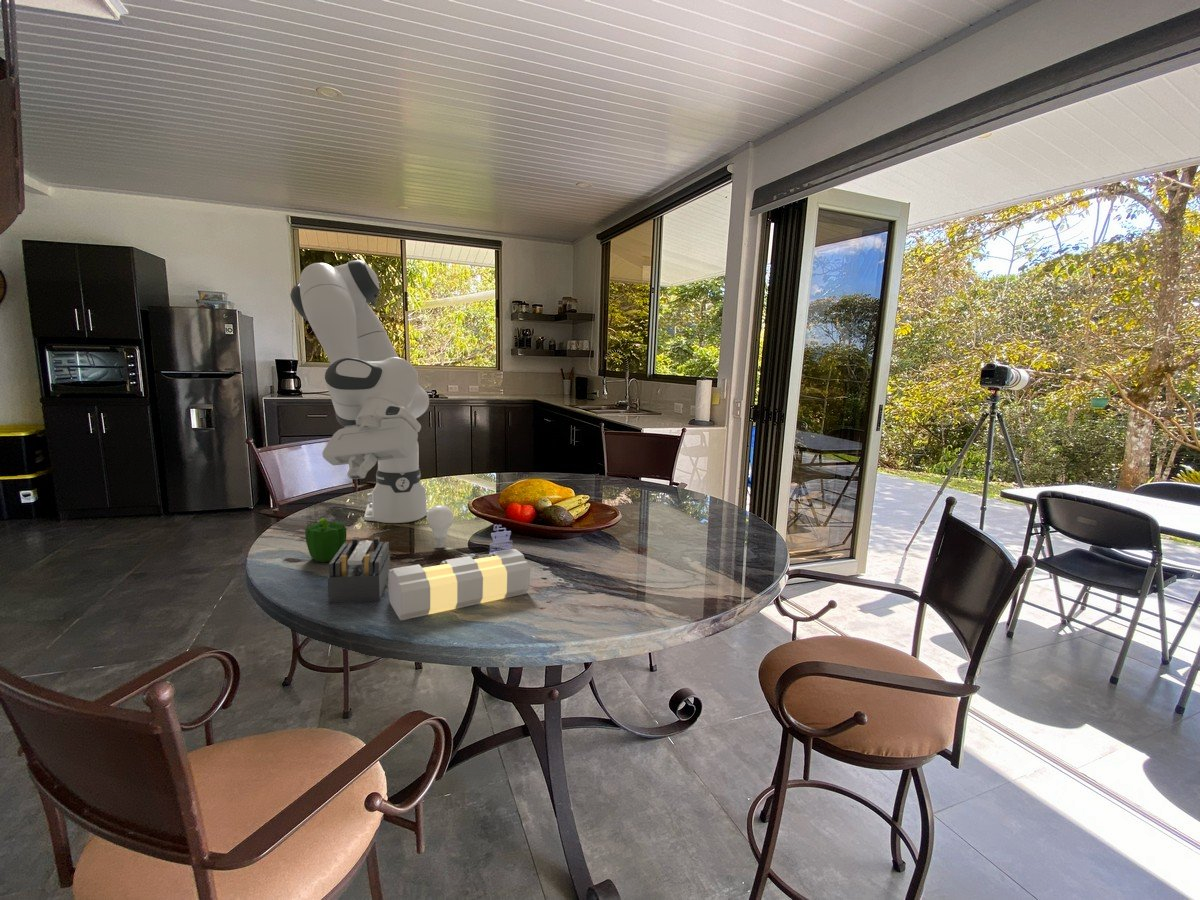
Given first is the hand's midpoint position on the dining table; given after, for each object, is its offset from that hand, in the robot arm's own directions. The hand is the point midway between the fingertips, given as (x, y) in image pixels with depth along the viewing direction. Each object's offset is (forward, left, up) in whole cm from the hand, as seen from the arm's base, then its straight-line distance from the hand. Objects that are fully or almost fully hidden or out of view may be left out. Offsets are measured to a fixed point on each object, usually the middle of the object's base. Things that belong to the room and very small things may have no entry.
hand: (355, 477), depth 103 cm
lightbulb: (-16, +21, -23) cm, 35 cm away
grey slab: (+1, +1, -16) cm, 16 cm away
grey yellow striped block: (+14, +17, -23) cm, 32 cm away
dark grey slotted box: (+1, +1, -23) cm, 23 cm away
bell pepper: (-19, -4, -23) cm, 30 cm away
